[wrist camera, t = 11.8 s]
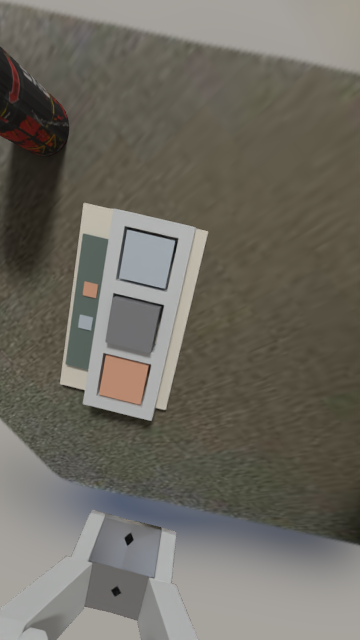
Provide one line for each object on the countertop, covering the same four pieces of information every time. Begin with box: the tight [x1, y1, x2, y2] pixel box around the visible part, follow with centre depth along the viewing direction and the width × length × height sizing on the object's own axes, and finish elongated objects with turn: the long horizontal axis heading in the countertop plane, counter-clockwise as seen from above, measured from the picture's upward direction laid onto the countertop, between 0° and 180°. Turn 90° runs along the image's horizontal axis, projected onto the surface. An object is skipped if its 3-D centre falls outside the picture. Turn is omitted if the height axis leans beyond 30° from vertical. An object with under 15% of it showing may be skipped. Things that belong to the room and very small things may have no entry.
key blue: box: [119, 230, 177, 289], centre depth 32 cm, size 5×5×2 cm
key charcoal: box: [106, 294, 163, 353], centre depth 33 cm, size 5×5×2 cm
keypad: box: [60, 203, 208, 421], centre depth 35 cm, size 14×22×4 cm, turn 167°
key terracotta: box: [99, 354, 151, 405], centre depth 36 cm, size 5×5×2 cm
